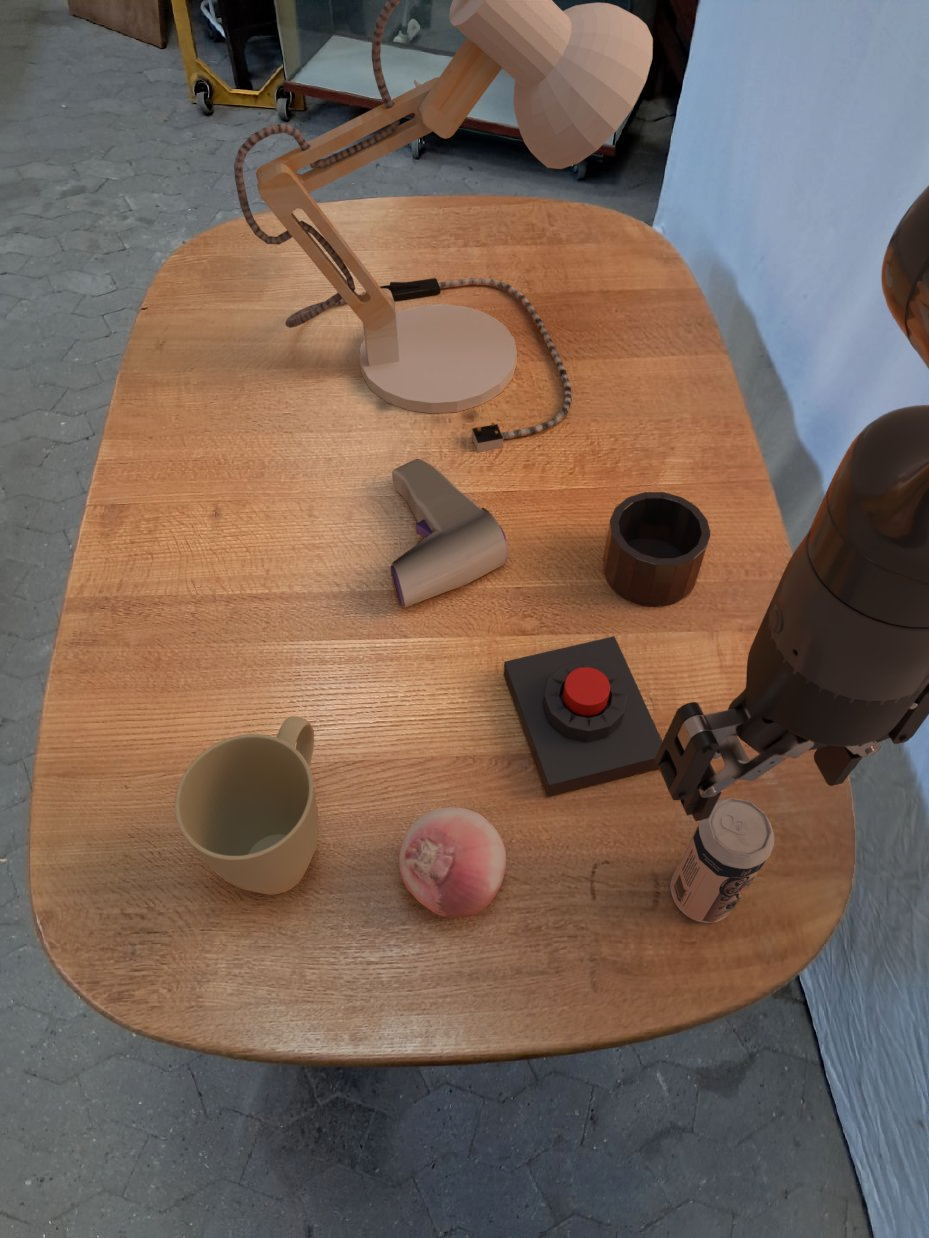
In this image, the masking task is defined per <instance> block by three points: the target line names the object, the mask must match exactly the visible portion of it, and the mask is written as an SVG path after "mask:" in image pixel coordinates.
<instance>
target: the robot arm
mask: <svg viewBox="0 0 929 1238" xmlns="http://www.w3.org/2000/svg"><path fill="white" fill-rule="evenodd" d="M880 272H881V274H880V275H881V276H880V279H881V289H882V294H883V297H884V300H885V303H886V306H887V309H888V311H889V313H890V314H891V317H892V319H893V320H894V321H895V323H896V325H897V326H898V328H899V329H900V331H901V332H902V334H903V335H904V336H905V338H906V340H907V341H908V342H909V344H910V345H911V347H912V348H913V349H914V351H915V352H916V353H917V355H918V356H919V358H920V359H921V361H922V362H923V364H924V365H925V367H926V368H927V370H928V371H929V184H928V185H927V187H925V188H924V190H922V192H921V193H920V194H919V195H918V196H917V197H916V198H915V199H914V200H913V202H912V203H911V205H910V206H909V207H908V209H907V210H906V211H905V213H904V215H903V216H902V217H901V219H899V222H898V223H897V225H896V226H895V228H894V230H893V232H892V234H891V237H890V239H889V242H888V244H887V246H886V249H885V252H884V255H883V259H882V265H881V271H880ZM745 679H746V680H745V687H744V689H743V691H742V692H741V693H740V694H738V695H737V696H736V697H735V698H734V699H733V700H732V701H731V702H730V704H729V705H728V708H727V709H726V710H720V711H717V712H712V713H708V714H705V713H704V712H703V709H702V707H701V705H700V703H699V702H697V701H695V702H694V701H690V702H687V703H685V704H683V705H681V706H680V707H679V708H677V709H676V711H675V714H674V716H673V719H672V720H671V722H670V724H669V727H668V728H667V731H666V733H665V736H664V738H663V739H662V744H661V746H660V748H659V751H658V753H657V755H656V757H655V761H656V763H657V765H658V767H659V769H658V770H659V772H660V774H661V776H662V779H663V781H664V783H665V786H666V788H667V790H668V792H669V795H670V797H671V799H672V800H673V801H680V803H681V805H682V807H683V810H684V812H685V814H686V816H688V817H689V816H692V818H693V820H694V821H695V822H700V820H704V819H708V818H709V816H710V814H711V812H712V811H713V809H714V807H715V805H716V803H717V801H719V800H720V797H721V796H722V791H724V790H725V789H727V788H728V787H730V786H731V785H733V784H735V782H737V781H741V782H742V781H744V782H753V781H756V780H757V779H758V778H760V777H762V776H763V775H764V774H766V773H767V772H769V771H770V770H772V769H773V768H774V767H776V766H778V765H779V764H781V763H782V762H785V760H787V759H798V758H799V757H800V756H801V755H803V754H805V753H807V751H813V750H814V753H813V761H814V763H815V765H816V766H817V769H818V770H819V772H820V774H821V776H822V778H823V780H824V781H825V783H826V784H827V785H828V786H830V787H834V786H837V785H841V784H843V783H844V782H845V781H846V779H847V778H848V777H849V775H850V774H851V773H852V771H854V770H855V769H856V767H857V766H858V764H859V763H860V761H861V760H862V759H863V758H864V757H870V756H873V755H875V754H876V753H877V752H879V750H880V749H881V747H882V746H881V744H880V742H883V741H885V740H889V739H890V740H891V742H892V743H893V744H894V745H898V744H899V745H900V744H904V743H907V742H908V741H909V740H910V739H912V738H913V737H914V736H915V735H916V733H917V732H918V730H919V729H920V727H921V726H922V724H923V723H924V722H925V720H926V719H927V717H928V716H929V404H918V405H916V404H915V405H910V406H904V407H900V408H896V409H893V410H890V411H888V412H886V413H883V414H882V415H880V416H878V417H877V418H876V419H874V420H872V421H871V422H870V423H868V424H867V425H866V426H865V427H864V428H863V429H862V430H861V431H860V432H859V433H858V434H857V436H856V437H855V438H854V439H853V440H852V441H851V443H850V445H849V447H848V448H847V449H846V451H845V453H844V456H843V457H842V459H841V461H840V463H839V465H838V467H837V469H836V470H835V472H834V474H833V477H832V479H831V481H830V483H829V485H828V488H827V490H826V491H825V494H824V496H823V498H822V500H821V503H820V505H819V507H818V510H817V512H816V514H815V515H814V519H813V520H812V523H811V526H810V528H809V530H808V531H807V533H806V535H805V536H804V537H803V539H802V540H801V542H799V544H798V545H797V547H796V549H795V550H794V552H793V553H792V555H791V557H790V559H789V560H788V563H787V565H786V566H785V568H784V571H783V572H782V576H781V578H780V580H779V582H778V584H777V586H776V588H775V591H774V593H773V596H772V598H771V600H770V602H769V605H768V607H767V609H766V611H765V614H764V616H763V618H762V621H761V623H760V625H759V627H758V629H757V632H756V635H755V636H754V639H753V641H752V644H751V646H750V648H749V651H748V654H747V662H746V678H745ZM740 740H741V741H742V742H744V743H745V745H747V746H748V747H750V748H751V749H753V750H754V751H755V752H757V753H758V754H757V755H755V757H753V758H752V759H749V756H748V755H747V753H746V751H745V749H744V746H743V744H742V743H741V741H740ZM720 757H721V759H722V760H723V763H724V766H723V768H722V769H721V770H719V771H718V772H717V773H716V772H715V770H714V768H713V765H712V761H713V760H717V759H719V758H720Z"/></svg>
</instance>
